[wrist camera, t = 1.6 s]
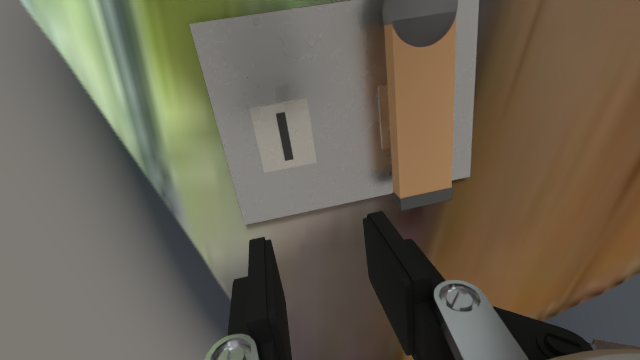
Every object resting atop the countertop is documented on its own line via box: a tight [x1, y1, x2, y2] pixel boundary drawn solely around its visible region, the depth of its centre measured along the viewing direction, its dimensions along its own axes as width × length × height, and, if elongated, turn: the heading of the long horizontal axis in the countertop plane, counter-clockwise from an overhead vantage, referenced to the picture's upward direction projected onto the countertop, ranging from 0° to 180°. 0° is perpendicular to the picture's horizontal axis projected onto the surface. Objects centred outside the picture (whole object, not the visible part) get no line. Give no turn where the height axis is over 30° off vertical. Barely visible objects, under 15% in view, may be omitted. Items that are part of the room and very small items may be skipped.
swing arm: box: [382, 0, 458, 211], centre depth 27 cm, size 19×5×2 cm, turn 8°
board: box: [189, 0, 479, 225], centre depth 29 cm, size 18×24×3 cm
